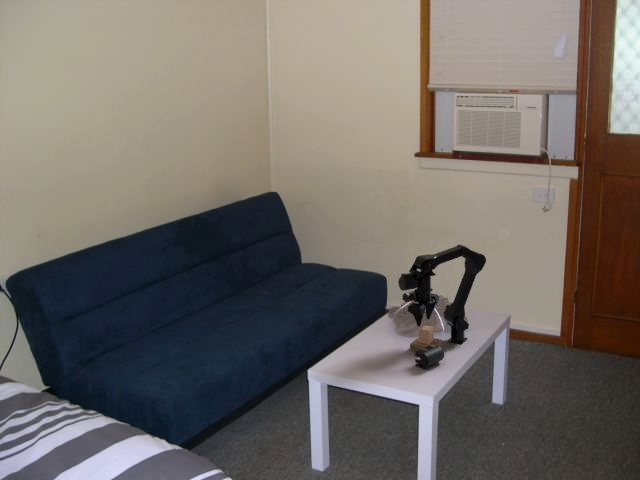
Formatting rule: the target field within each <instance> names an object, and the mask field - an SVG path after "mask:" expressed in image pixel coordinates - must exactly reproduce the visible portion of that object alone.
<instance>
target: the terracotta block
mask: <svg viewBox="0 0 640 480" xmlns="http://www.w3.org/2000/svg"><path fill="white" fill-rule="evenodd" d="M434 330H435V329H434V326H428V325H422V326H420V327H419V328H418V337H419V343H424V344H430V343H432V342H433V341H434V338H435V337H434V336H435V335H434V333H435V331H434Z"/></svg>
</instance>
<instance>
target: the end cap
mask: <svg viewBox="0 0 640 480" xmlns="http://www.w3.org/2000/svg"><path fill="white" fill-rule="evenodd" d="M425 349H428V351H423V350H418V351H416V352H415V351H414V356H415V357H417V358H415V359H414V363H416V364H415V367H416V368H420V369H423V370H425V369H428V368H429V367H432V366H433V365H435V364H437V363H439V362H441V361H443V359H444V358H445V351H444V349H443V348H442V347H439V346H437V347H432V346H426V347H425ZM418 358H420V359H418Z"/></svg>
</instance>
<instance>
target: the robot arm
mask: <svg viewBox="0 0 640 480" xmlns="http://www.w3.org/2000/svg"><path fill="white" fill-rule="evenodd" d="M461 257H462V258H464V273H463V276H462V278H461V281H460V283H459V287H458V289H457V292H456V294H455V297H454V299H453V302H452V303H451V304H450V305H449V304H446V306H445V309H444V311H443V319H444V320H445V322H446V323H447V326H450V338H449V339H447V342H448V343H455V344H459V345H463V344H464V343H465V342H466V341H467V340H468V338H467V337H465V331H466V330H468V329H469V326H470V324H469V323H468V322H467V320H465V316H466V311H465V310H466V309H465V308H466V307H465V306H466V303H467V301H468V298H469V295H470V294H471V290H472V288H473V285H474V282H475V280H476V277H477V275H478V274H479V273H480V272H481V271H483V269H484V266H485V265H486V263H487V258H486V256H485V255H484V254H482V253H480V252H478V251H475V250H471V249H470V248H468V246H466V245H463V244H457V245H455V246H453V247H451V248H448V249H445V250H442V251H439V252H437V253H433V254H421V255H418V256H416V258H415V260H414V262H413V264H412V265H411V267H410V268H409V270H408V272H406V273H401V274H400V277H398V281H397V282H398V288H399V290H401V291H402V292H403V291H408V292H404V293H403V294H402V301H403V302H404V303H408V302H412V301H413V302H412V303H411V304H409V305H408V306H407V312H408V313H409V314H412V315H413V317H414V319H415V323H416V326H417V327H419V328H421V327H422V326H421V325H422V323H423V319H424V316H425V317H426V320H428V321H429V320H430V319H431V317H432V314H433V312H434V310H435V309H436V307H437V305H438V302H439V301H440V296H439V295H438V294H437V293H432V292H433V288H432V283H431V281H432V277H435V276H436V275H437V274H436V273H435V272H434V270H435V269H436V268H437V267H439V266H440V265H441V264H444V263H447V262H450V261H453V260H455V259H458V258H461ZM409 290H412V291H409Z"/></svg>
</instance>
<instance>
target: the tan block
mask: <svg viewBox="0 0 640 480" xmlns="http://www.w3.org/2000/svg"><path fill="white" fill-rule="evenodd" d="M426 346H432V347H437V346H439V347H441V348H442V347H443V339H439V338H435V337H434V341H433V342H432V343H430V344H424V343H419V336H417V338H416V339H414V340H413V341H411V342H410V343H409V351H410V352H414V353H415V352H416V351H418V350H423V351H428V349H425V347H426Z"/></svg>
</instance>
